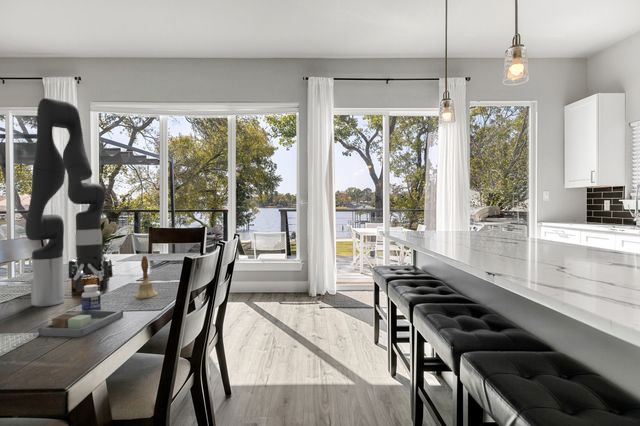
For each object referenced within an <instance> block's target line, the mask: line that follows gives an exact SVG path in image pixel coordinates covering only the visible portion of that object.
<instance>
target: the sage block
mask: <svg viewBox="0 0 640 426" xmlns="http://www.w3.org/2000/svg"><path fill="white" fill-rule="evenodd" d="M90 324H91V315H77V316H74V317H72V318H69V319H68V328H73V329H81V328H83V327H85V326H87V325H90Z"/></svg>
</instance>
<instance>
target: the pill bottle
mask: <svg viewBox="0 0 640 426" xmlns="http://www.w3.org/2000/svg"><path fill="white" fill-rule="evenodd" d="M98 285H99V284H87V285H83V291H84V292H82V294H81V312H82V311H84V310H102V309H101V308H102V307H101V305H102V304H101V292H100V290H98V289H99V286H98Z"/></svg>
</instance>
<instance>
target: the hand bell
mask: <svg viewBox="0 0 640 426" xmlns="http://www.w3.org/2000/svg"><path fill="white" fill-rule="evenodd" d="M140 263H141V264H140V267H141V270H142V279H143V280H142V281H141V282H140V283H139V286H138V287H139V288H138V290H137V293H136V294H135V295H134V298H135V299H149V298H153V297H156V296H158V292H156V291H155V289H154V286H153V282H152V281H150V280H149V276H148V269H149V260H148V257H147V256H146V255H145V256H142V258H141V262H140Z"/></svg>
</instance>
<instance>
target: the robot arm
mask: <svg viewBox="0 0 640 426" xmlns="http://www.w3.org/2000/svg"><path fill="white" fill-rule="evenodd" d="M53 128H58V129H59V128H60V129H61V128H62V129H66V130H67V131H68V135H69V136H68V137H69V138H68V141H67V142H66V145H65V148H64V150H63V152H62V153H63V154H61V153H60V151H59V150H58V147H57V146H56V144H55V140H54V138H53V137H54V136H53ZM83 136H84V133H83V128H82V123H81V117H80V113H79V110H78V107H77V106H76V105H75V104H74V103H71V102H68V101H63V100H59V99H53V98H47V97H44V98H42V99H41V100H40V101H39V102H38V106H37V112H36V144H35V145H36V147H35V155H34V162H33V170H32V179H31V180H32V181H31V182H32V183H31V194H30V200H29V205H28V209H27V216H26V220H25V226H24V227H25V228H24V229H25V235H26V237H27V239H28V240H29V241H44V240H48V241H47V243H46V244H45V245H44V246H42V247H39V248H36V249H35V250H33V251H32V252H31V258H32V261H31V262H32V263H31V264H32V278H31V279H30V299H31V306H34V307H40V308H41V307H49V306H57V305H60V304H62V303H64V302H65V284H64V283H65V279H64V276H65V275H64V256H63V255H64V254H63V252H64V241H65V240H64V239H65V238H64V237H65V236H64V235H65V225H64V224H65V223H64V219H63V218H62V216H61V215H59V214H44V210H45V208H46V206H47V204H48V203H49V201H50V200H51V199H52V198H54V196H55V195H56V194H57V193H58V192H59V190H60V189H61V188H62V186H63V185H64V183H65V178H66V176H65V175H66V172H67V196H68V199H69V201H70V202H71V203H73V204H75V205H88V208H87V210H84V211H80V212H78V213H76V215H75V230H76V231H75V254H76V255H75V256H76V258H77V259H72V260H69V261H68V279H70V280H73V281H74V289H75V291H76V292H82V291H84V284H83V283H84V282H83V280H84V279H83V278H84V276H85V275H86V274H92V275H94V276H96V277H97V278H98V279H99V281H98V282H99V284H98V285H99V286H98V289H99V292H100V293H102V292H106V290H107V289H108V279H110V278H112V277H113V276H114V275H113V267H112V266H113V264H112V259H106V260H103V259H102V257H103V255H104V252H103V235H102V234H103V233H102V227H101V225H102V224H101V216H102V211H103V206H104V204H105V200H106V191H105V188H104V187H103V185H101V184H100V183H95V182H94V183H93V182H91V183H90V182H89V183H87V182H83V181H87V180H89V179H90V178H92V176H93V172H92V171H93V170H92V167H91V165H90V162H89V159H88V155H87V152H86V148H85V142H84V137H83Z"/></svg>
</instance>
